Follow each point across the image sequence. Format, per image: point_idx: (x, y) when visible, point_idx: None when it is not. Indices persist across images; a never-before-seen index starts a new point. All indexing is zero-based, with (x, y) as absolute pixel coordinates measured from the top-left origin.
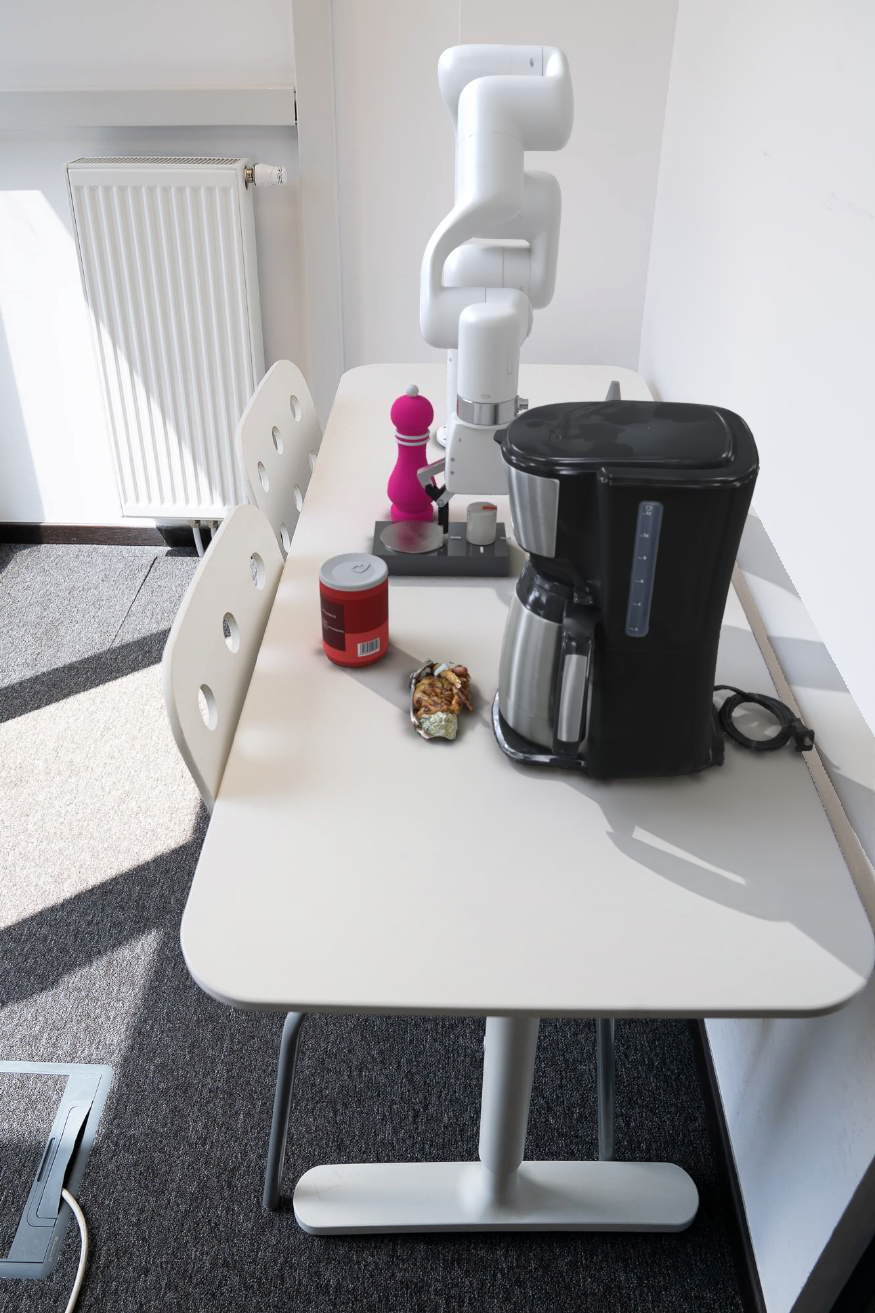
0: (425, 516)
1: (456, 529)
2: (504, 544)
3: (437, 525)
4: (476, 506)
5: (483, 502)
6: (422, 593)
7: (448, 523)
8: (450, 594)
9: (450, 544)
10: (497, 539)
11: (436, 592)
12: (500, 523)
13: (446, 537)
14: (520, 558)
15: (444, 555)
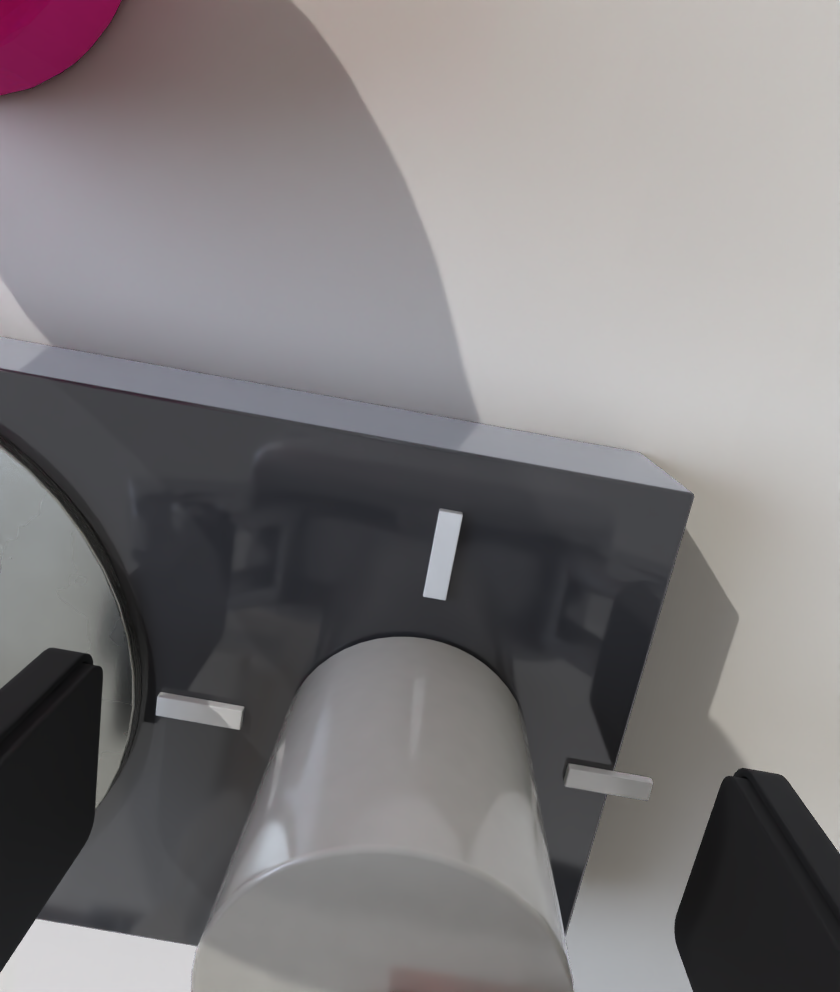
0: (20, 42)
1: (227, 563)
2: (568, 853)
3: (51, 503)
4: (316, 963)
5: (433, 885)
6: (28, 951)
7: (36, 914)
8: (175, 981)
9: (149, 794)
10: (535, 779)
11: (102, 954)
12: (650, 514)
13: (117, 721)
14: (678, 695)
15: (93, 923)
